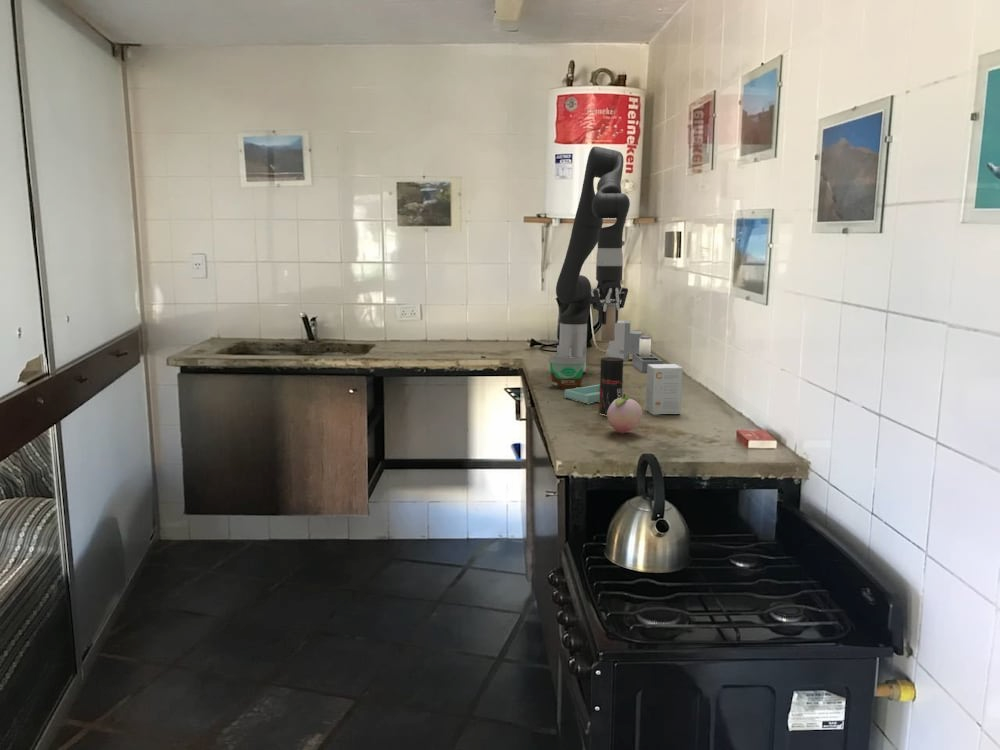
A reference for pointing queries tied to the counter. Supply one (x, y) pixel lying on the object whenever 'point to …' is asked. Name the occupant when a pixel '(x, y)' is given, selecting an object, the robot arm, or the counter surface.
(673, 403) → the small box
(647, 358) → the holder
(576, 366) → the food container
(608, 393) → the deodorant
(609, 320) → the brown tall block
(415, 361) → the counter surface
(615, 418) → the decorative fruit
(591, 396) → the parts tray
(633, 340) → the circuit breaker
